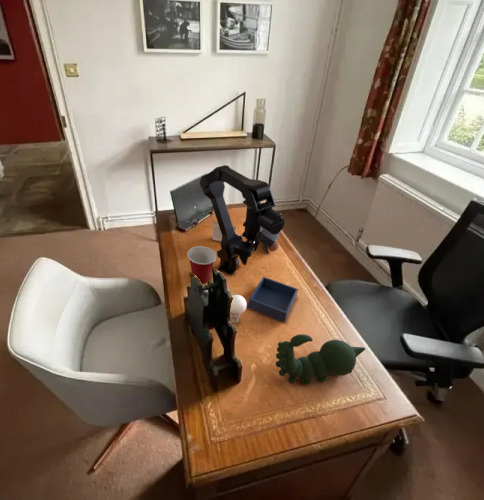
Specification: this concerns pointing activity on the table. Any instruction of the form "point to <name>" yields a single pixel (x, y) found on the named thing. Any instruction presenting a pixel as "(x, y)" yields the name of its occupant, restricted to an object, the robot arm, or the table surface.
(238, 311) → the lightbulb
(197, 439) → the table surface
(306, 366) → the toy figurine
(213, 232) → the ink cartridge box
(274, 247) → the character figurine
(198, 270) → the plastic cup
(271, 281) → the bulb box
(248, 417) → the table surface
